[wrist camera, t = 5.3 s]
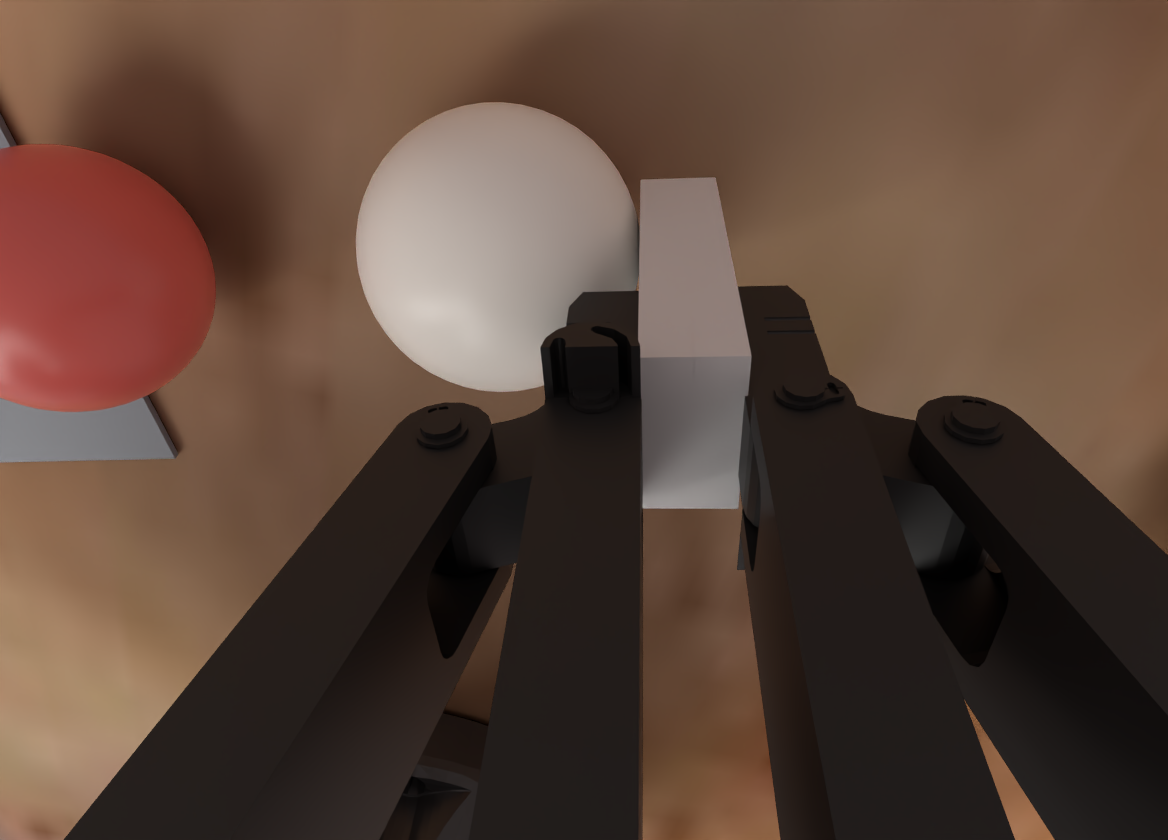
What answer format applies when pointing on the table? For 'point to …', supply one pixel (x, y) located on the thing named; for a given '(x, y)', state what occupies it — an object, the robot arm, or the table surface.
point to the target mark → (80, 424)
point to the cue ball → (491, 240)
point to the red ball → (94, 281)
